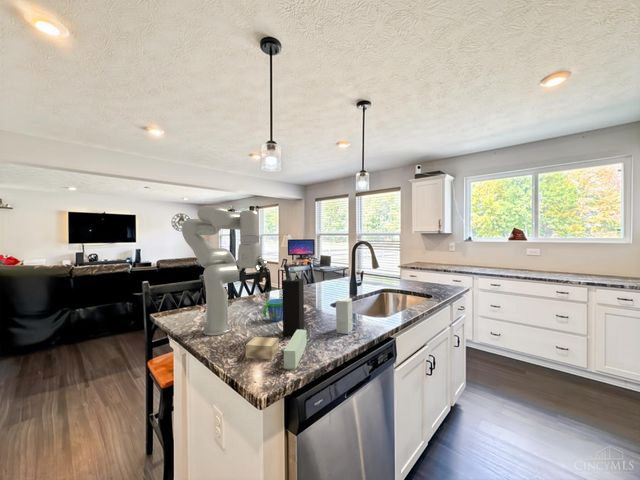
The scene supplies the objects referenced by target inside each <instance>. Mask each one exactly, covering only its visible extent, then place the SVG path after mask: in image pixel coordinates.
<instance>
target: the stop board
mask: <svg viewBox="0 0 640 480" xmlns="http://www.w3.org/2000/svg"><path fill="white" fill-rule="evenodd" d="M306 347H307V329H304V330H296V332H295V333H294V335H293V337H292V336H291V338H290V340H289V342H288V343H287V345H286V346H285V348H284V349H283V369H286V370H287V369H289V370H296V369H297V366H298V365H299V363H300V360H301V358H302V355H303V353H304V351H305V349H306Z"/></svg>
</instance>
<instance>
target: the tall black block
mask: <svg viewBox="0 0 640 480" xmlns="http://www.w3.org/2000/svg"><path fill="white" fill-rule="evenodd" d="M289 274H290V277H291V278H286V279H284V280H282V281H281V284H282V286H281V287H282V292H281V293H282V294H281V295H282V299H283V320H282V337H291V338H292V337H293V335H294V333H295V332H296V330H305V307H304V306H305V304H304V303H305V295H304V294H305V291H304V285H305V284H304V281H305V279H304V278H296V276H297V273H296V272H289Z"/></svg>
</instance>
